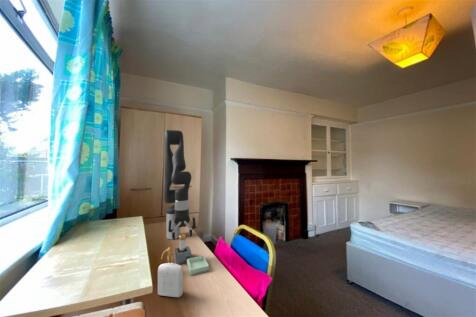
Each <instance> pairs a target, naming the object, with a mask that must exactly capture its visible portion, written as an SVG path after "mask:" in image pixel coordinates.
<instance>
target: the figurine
mask: <svg viewBox="0 0 476 317" xmlns="http://www.w3.org/2000/svg"><path fill="white" fill-rule="evenodd" d="M174 250H176V249H174V247H170V246H168V247H167V249H165V250H164V251H163V252H162V254H161V257H160V259H161V260H163V256H164V254H165V253H166V252H167V257H166V258H167V263H173V261H174V253H172V252H173V251H174ZM176 252H177V250H176ZM177 253H178V252H177ZM178 256H179V253H178ZM170 259H171V261H170Z"/></svg>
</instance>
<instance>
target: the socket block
mask: <svg viewBox="0 0 476 317" xmlns="http://www.w3.org/2000/svg"><path fill="white" fill-rule="evenodd" d="M173 249H176V250H177V252H178V253H179V256H178V253H177V252H176V250H173V259H174V264H178V265H181V264H185V263H186V264H187V259H189V258H192V250H191V249H190V246H189V245H185V252H181V253H180V247H176V248H174V247H173Z"/></svg>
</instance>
